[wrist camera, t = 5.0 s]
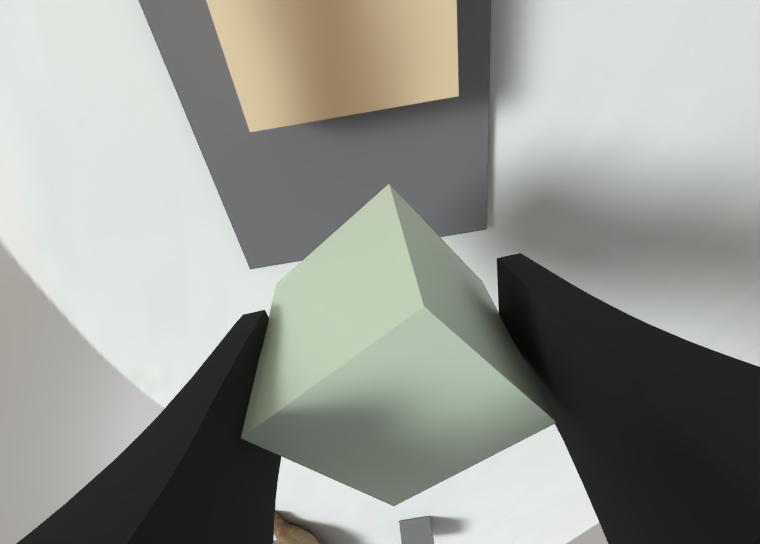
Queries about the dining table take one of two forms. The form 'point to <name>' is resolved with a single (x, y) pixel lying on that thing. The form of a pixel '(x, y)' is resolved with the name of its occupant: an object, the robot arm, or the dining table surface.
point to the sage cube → (389, 361)
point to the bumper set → (413, 531)
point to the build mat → (330, 144)
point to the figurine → (291, 533)
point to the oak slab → (336, 56)
